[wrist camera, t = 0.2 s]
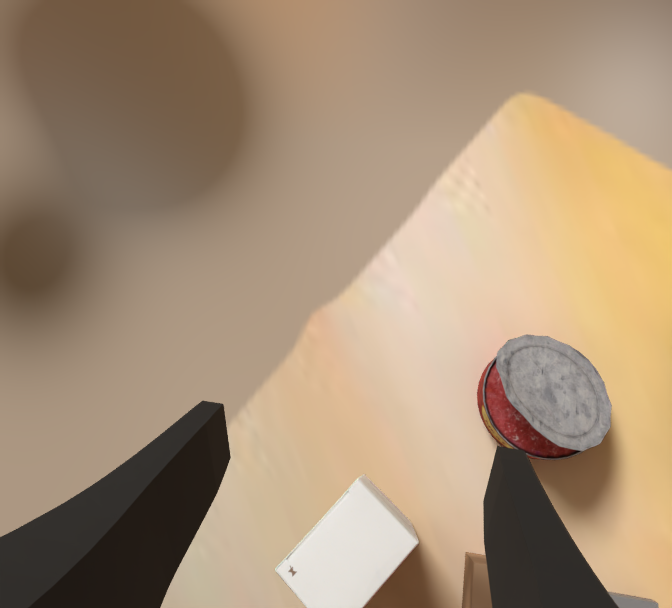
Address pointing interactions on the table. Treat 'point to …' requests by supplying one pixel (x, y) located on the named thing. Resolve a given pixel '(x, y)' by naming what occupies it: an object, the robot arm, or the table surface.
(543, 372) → the canned food
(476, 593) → the banded tan post
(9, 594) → the robot arm
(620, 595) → the base plate
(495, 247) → the table surface
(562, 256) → the table surface
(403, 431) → the table surface
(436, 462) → the table surface
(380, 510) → the small box
